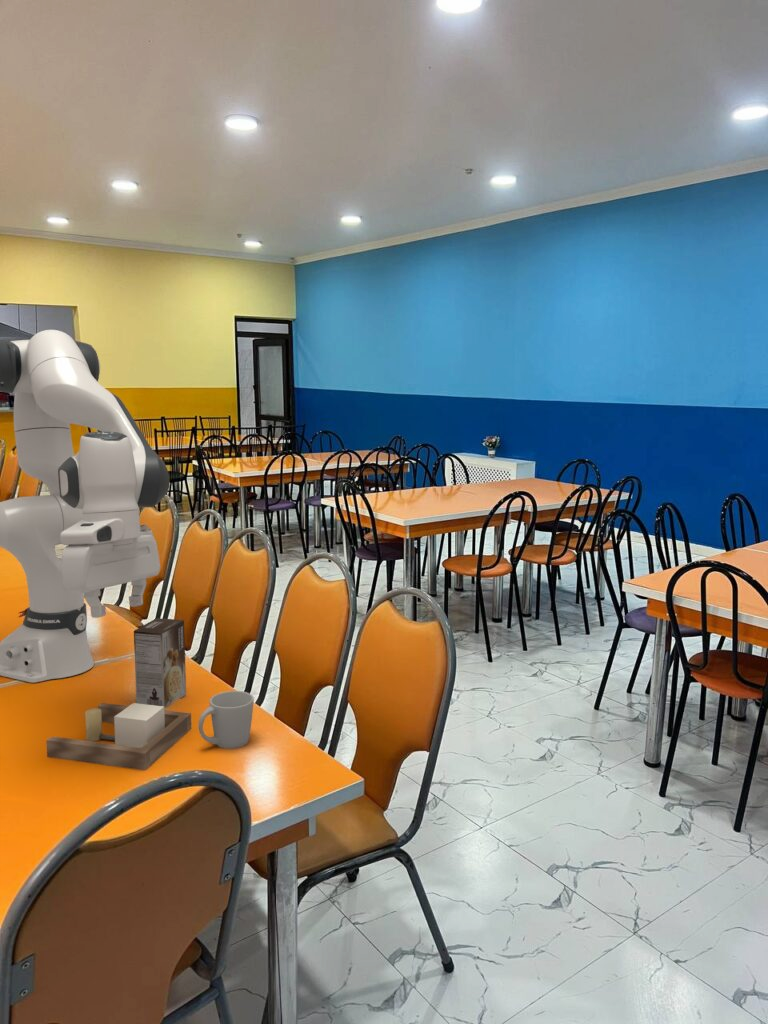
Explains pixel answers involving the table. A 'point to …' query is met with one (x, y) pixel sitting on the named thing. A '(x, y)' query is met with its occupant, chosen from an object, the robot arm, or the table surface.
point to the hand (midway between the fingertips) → (118, 611)
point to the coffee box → (160, 662)
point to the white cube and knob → (128, 725)
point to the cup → (229, 719)
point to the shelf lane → (118, 754)
